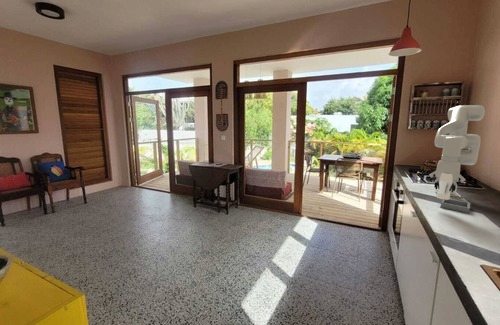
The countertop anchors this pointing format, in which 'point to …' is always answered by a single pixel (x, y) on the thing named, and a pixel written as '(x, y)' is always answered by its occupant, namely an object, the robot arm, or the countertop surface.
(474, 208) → the countertop surface
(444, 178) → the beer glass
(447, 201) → the tray
